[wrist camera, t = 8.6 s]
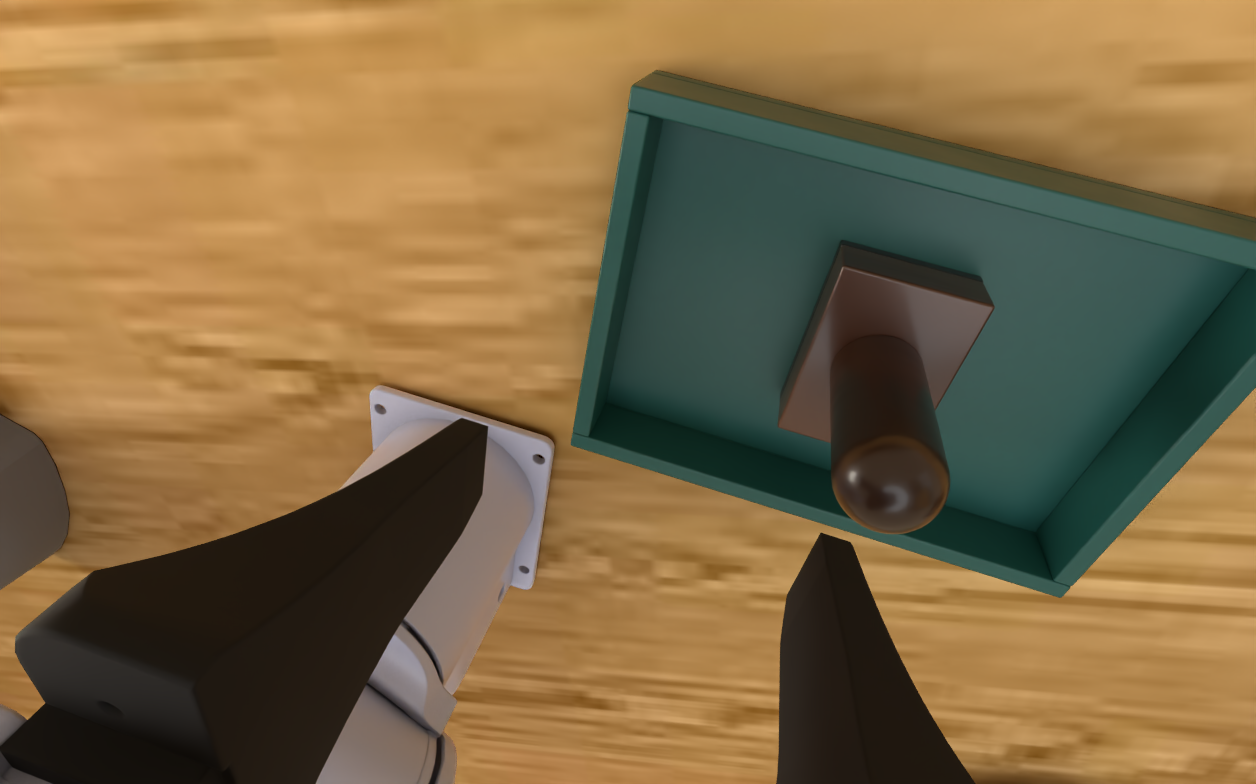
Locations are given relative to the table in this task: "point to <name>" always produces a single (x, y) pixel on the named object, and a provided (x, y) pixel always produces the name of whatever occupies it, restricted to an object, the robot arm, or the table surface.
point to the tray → (938, 234)
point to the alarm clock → (28, 503)
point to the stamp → (884, 380)
